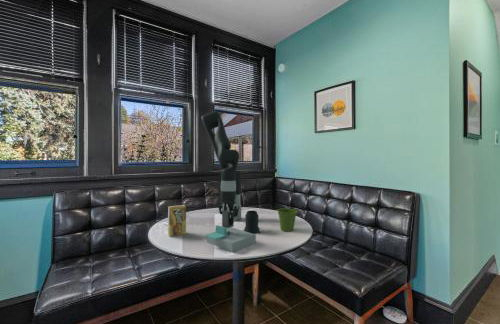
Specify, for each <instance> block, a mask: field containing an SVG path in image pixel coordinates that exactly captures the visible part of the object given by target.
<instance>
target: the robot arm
mask: <svg viewBox="0 0 500 324" xmlns="http://www.w3.org/2000/svg"><path fill="white" fill-rule="evenodd" d="M201 122H202V125H203V127H204V129H205V131H206V134H207V135H208V137H209V140H210V142H211V145H212V148H213V151H214V153H215V156H216V158H217V160H218V163H219V166H220V169H221V176H220V177H221V179H220V180H221V181H220V199H221V201H219V202H217V205H218V207H217V208H218V211H219V214H220V215H222V210H227V211H228V213H229V217H230V218H229V225H233V224H235V223H234V222H237V221H240V220H241V219H242V204H241V193H242V192H241V191H242V182H243V181H242V173H241V170H237V167H238V164H239V160H240V154H239V151H238V150H237V149H231V148H232V144H231V142H230V140H229V138H228V135H227V133H226V132H227V131H226V128H225V125H224V122H223V119H222V117H221V114H220V113H219V111H218V110H214V111H213V110H212V111H211V112H208V113H205V114H203V115H201ZM216 128H217V130H216V132H215V133H214V131H213V129H216ZM230 210H232V211H230ZM231 213H232V215H231Z"/></svg>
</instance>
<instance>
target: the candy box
mask: <svg viewBox="0 0 500 324" xmlns="http://www.w3.org/2000/svg"><path fill="white" fill-rule="evenodd" d="M167 209H168V210H167V211H168V212H167V215H168V216H167V220H168V221H167V234H168V236H169V237H174V236H175V237H176V236H180V235H181V236H182V235H186V234H187V206H186V205H185V204H181V205H171V206H168V207H167Z"/></svg>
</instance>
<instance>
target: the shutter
mask: <svg viewBox="0 0 500 324" xmlns="http://www.w3.org/2000/svg"><path fill="white" fill-rule="evenodd" d="M215 231H216V232H215ZM215 231H213V232H214V233H212V232H210V233H211V234H209V233H207V234H208V235H207V234H206V235H205V237H206V238H207V237H208V238H211V239H213V240H218V239H221V238H224V237H227V228H225V227H222V225H219V224H217V225H215Z"/></svg>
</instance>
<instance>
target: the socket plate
mask: <svg viewBox="0 0 500 324" xmlns="http://www.w3.org/2000/svg"><path fill="white" fill-rule="evenodd" d="M214 232H216V230H214V231H212V232H209V233H206V235H208V234H211V233H214ZM256 234H257V233H256ZM256 234H252V233H249V232H246V231H244V230H242V229H239V228H236V227H234V226H233V227H230V228H227V237H224V238H221V239H218V240H213V239H211V238H208V237H206V243H208V244H210V245H213V246H215V247H218V248H220V249H222V250H226V251H228V252H230V253H234V252H236V251H238V250H241V249H244V248H246V247H248V246H250V245H253V244H256V241H257V240H256V239H257V235H256Z"/></svg>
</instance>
